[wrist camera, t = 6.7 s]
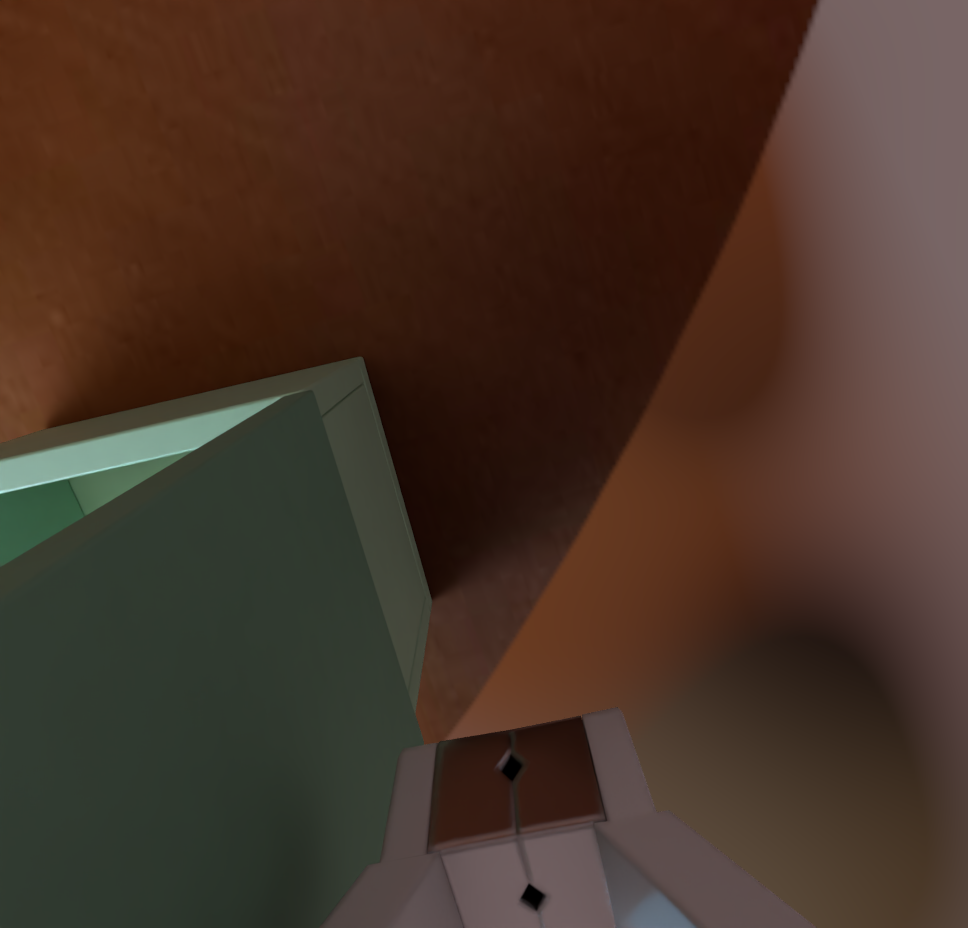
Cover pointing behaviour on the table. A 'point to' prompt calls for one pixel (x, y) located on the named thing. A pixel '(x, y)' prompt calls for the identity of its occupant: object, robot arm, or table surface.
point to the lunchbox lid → (199, 697)
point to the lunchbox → (192, 423)
